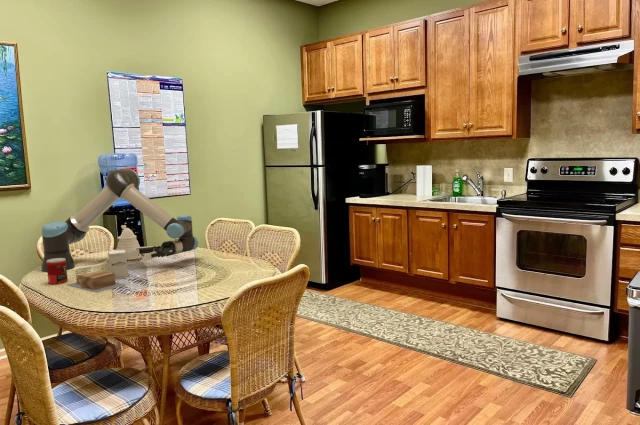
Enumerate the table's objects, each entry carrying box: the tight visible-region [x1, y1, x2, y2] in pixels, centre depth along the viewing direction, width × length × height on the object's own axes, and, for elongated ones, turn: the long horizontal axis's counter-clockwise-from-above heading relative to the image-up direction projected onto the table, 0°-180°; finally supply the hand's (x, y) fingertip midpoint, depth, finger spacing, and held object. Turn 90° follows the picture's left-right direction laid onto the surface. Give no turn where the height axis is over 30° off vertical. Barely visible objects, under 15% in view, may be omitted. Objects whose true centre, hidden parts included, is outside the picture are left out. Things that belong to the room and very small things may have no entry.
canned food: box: [46, 258, 69, 285], centre depth 222 cm, size 8×8×11 cm
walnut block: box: [80, 270, 116, 290], centre depth 215 cm, size 10×10×5 cm
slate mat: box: [66, 281, 127, 294], centre depth 217 cm, size 24×14×1 cm, turn 56°
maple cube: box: [75, 272, 89, 284], centre depth 220 cm, size 4×4×4 cm
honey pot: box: [115, 224, 142, 260], centre depth 275 cm, size 13×13×18 cm
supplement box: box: [107, 250, 129, 280], centre depth 229 cm, size 7×7×13 cm
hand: (135, 255), depth 237 cm, fingers open, 13 cm apart
